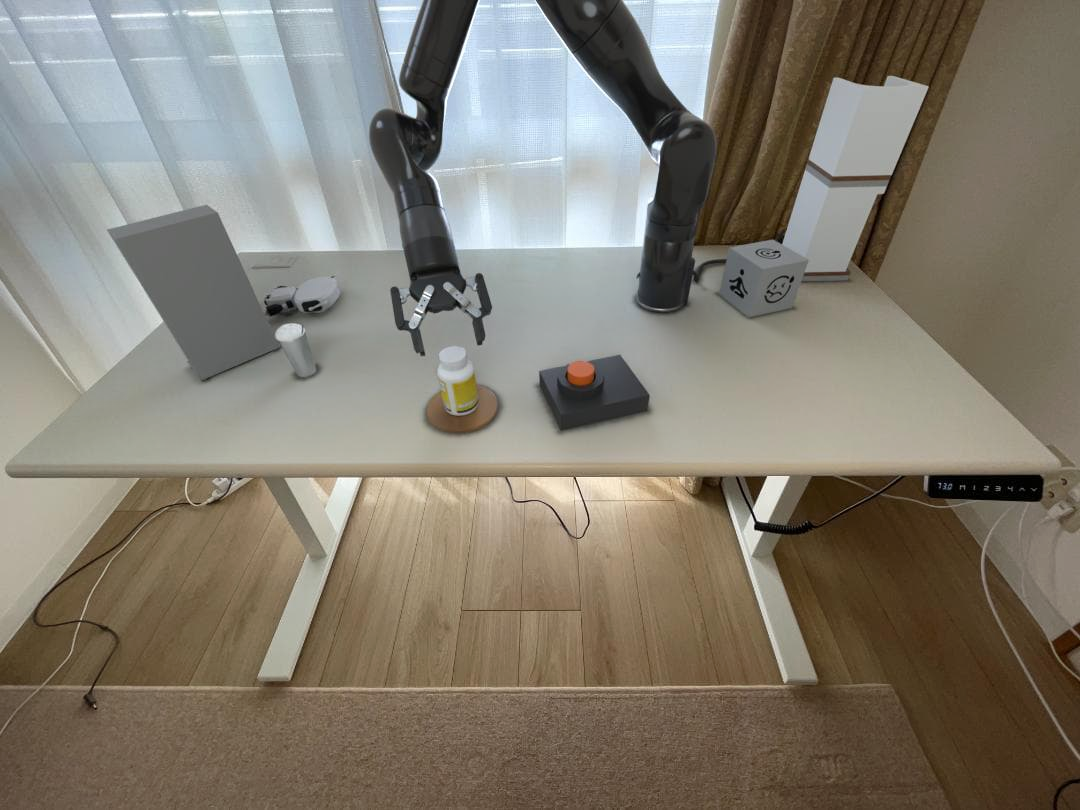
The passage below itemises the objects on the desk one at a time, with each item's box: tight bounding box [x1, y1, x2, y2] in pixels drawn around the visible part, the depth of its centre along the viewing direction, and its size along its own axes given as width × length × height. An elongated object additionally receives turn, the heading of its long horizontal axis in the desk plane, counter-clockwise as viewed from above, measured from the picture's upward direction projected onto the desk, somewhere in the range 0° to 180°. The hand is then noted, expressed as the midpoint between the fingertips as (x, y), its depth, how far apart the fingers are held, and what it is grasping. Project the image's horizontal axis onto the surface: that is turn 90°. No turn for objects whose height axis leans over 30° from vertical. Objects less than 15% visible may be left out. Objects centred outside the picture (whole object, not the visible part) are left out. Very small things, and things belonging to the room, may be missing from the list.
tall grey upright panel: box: [106, 204, 281, 381], centre depth 81 cm, size 14×6×25 cm, turn 135°
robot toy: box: [262, 273, 341, 318], centre depth 101 cm, size 12×4×15 cm
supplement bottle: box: [436, 345, 479, 416], centre depth 73 cm, size 5×5×10 cm
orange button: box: [568, 360, 594, 386], centre depth 74 cm, size 4×4×2 cm
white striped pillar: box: [781, 75, 929, 282], centre depth 97 cm, size 11×11×35 cm
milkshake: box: [274, 322, 317, 378], centre depth 82 cm, size 4×5×10 cm
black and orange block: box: [538, 354, 651, 431], centre depth 76 cm, size 14×11×5 cm
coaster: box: [426, 384, 499, 434], centre depth 76 cm, size 11×11×1 cm
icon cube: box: [718, 239, 809, 318], centre depth 96 cm, size 10×10×10 cm
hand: (452, 349), depth 73 cm, fingers open, 8 cm apart
